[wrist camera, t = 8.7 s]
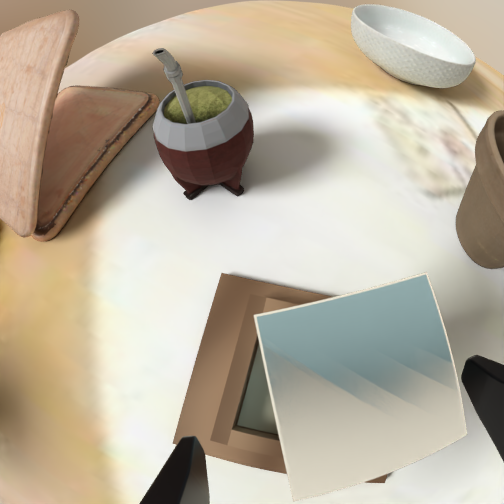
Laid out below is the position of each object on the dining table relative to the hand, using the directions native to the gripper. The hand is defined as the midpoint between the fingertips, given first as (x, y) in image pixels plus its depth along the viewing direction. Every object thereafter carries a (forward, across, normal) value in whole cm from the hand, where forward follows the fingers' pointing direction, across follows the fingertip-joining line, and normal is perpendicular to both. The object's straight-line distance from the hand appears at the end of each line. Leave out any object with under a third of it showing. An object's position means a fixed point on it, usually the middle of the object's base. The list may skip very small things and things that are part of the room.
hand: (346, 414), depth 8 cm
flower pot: (+13, -19, +2) cm, 23 cm away
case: (+28, +21, -12) cm, 37 cm away
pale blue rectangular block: (+8, 0, +6) cm, 10 cm away
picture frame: (+8, 0, +7) cm, 11 cm away
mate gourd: (+20, +3, -5) cm, 21 cm away
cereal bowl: (+31, -24, -16) cm, 42 cm away
